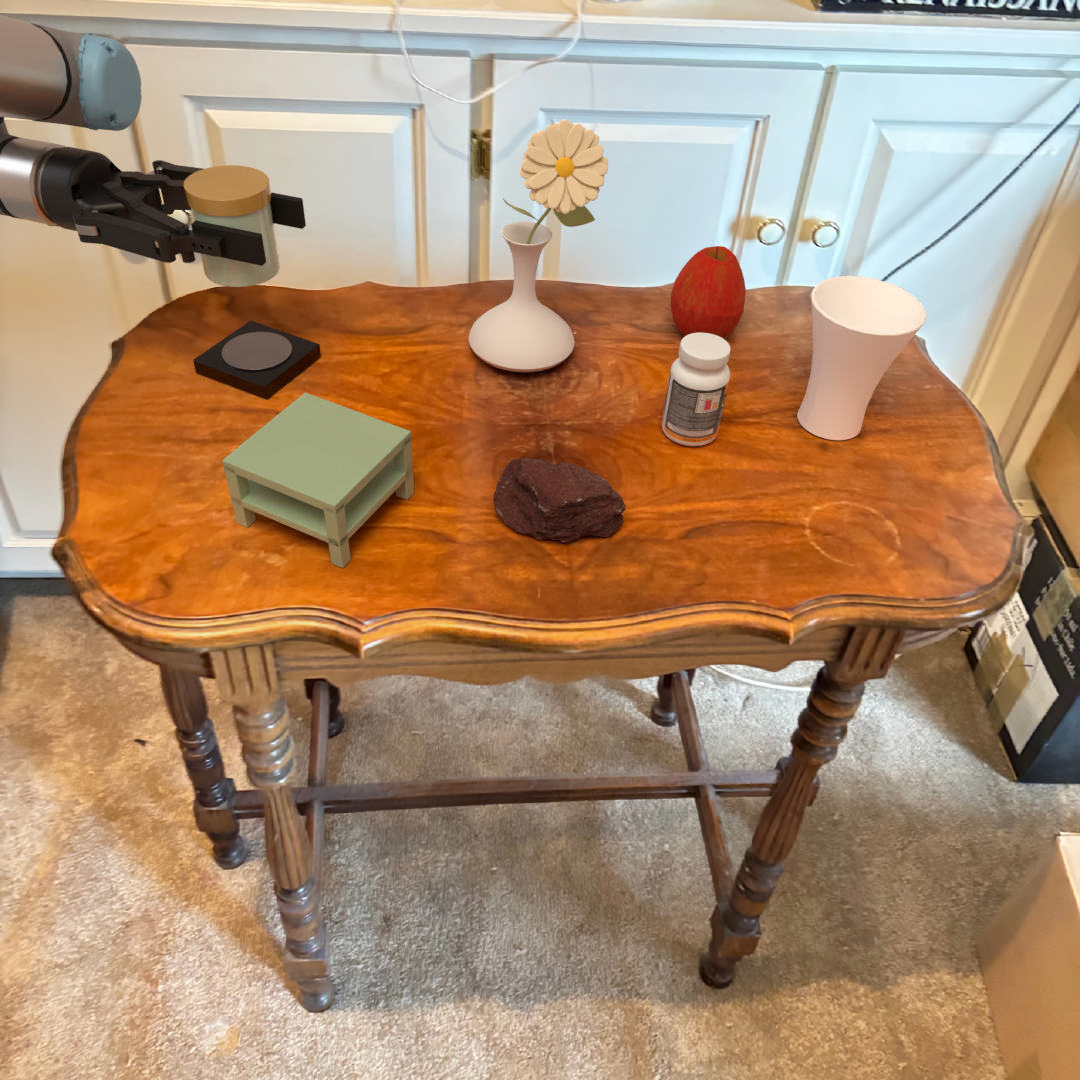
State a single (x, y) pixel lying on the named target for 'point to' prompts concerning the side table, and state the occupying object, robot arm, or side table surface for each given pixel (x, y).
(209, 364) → the hot plate
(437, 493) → the side table surface
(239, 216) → the jar
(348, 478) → the shelf
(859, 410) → the cup
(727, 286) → the apple
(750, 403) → the side table surface
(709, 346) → the pill bottle
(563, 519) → the rock
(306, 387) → the side table surface
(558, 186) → the flower in vase
